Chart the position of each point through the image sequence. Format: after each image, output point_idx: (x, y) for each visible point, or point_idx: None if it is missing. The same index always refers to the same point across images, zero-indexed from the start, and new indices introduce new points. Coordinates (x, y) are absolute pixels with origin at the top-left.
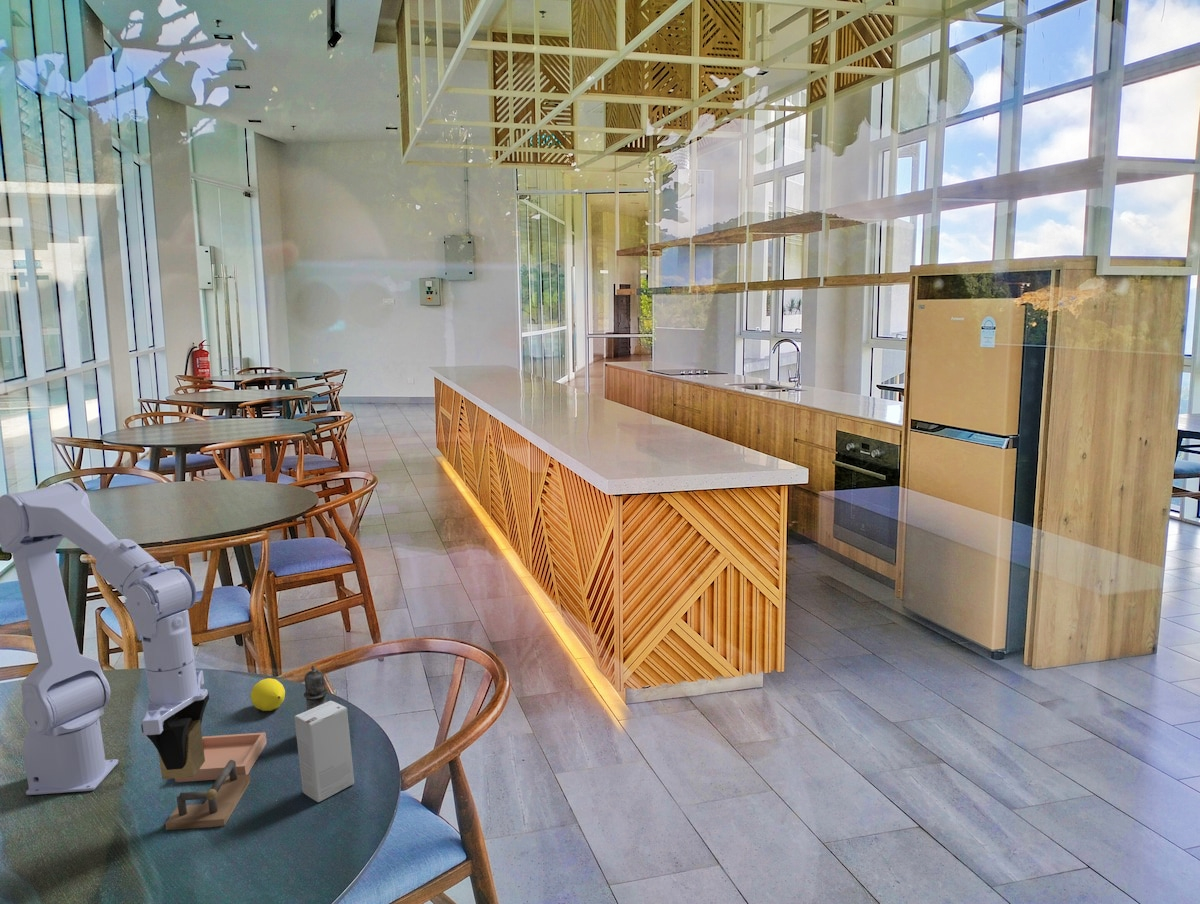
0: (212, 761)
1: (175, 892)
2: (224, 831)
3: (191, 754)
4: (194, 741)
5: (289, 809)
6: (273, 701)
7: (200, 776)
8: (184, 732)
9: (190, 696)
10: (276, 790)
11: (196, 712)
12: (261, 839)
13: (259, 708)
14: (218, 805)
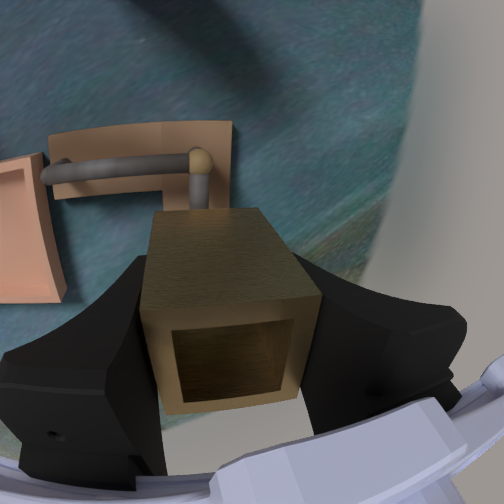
0: (4, 250)
1: (396, 153)
2: (249, 114)
3: (276, 240)
4: (240, 260)
5: (188, 4)
6: None
7: (52, 248)
8: (394, 305)
9: (431, 490)
10: (100, 56)
11: (130, 359)
12: (291, 37)
13: None
14: (172, 153)
